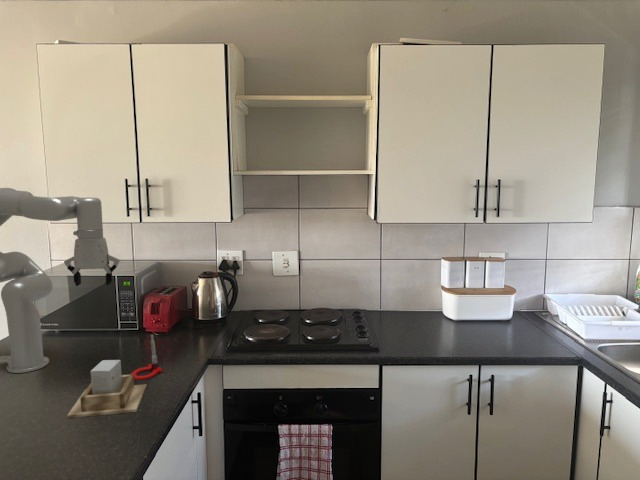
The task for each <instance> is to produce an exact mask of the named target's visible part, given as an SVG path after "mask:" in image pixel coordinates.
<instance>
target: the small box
mask: <svg viewBox="0 0 640 480" xmlns="http://www.w3.org/2000/svg"><path fill="white" fill-rule="evenodd" d="M122 375H123V374H122V361H121V359H104V360H101V361H100V362H98V364H97V365H95V367H93V368H92V369H91V370H90V383H91V384H92V395H97V394H109V393H120V392H121V390H122Z"/></svg>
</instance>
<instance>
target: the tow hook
mask: <svg viewBox="0 0 640 480" xmlns="http://www.w3.org/2000/svg"><path fill="white" fill-rule="evenodd" d="M150 346H151V348H150V349H151V363H150V364H148V365H147V366H143V367H139V368H137V369H134V370H133V371H132V372H131V373H130V374H134V381H135V380H136V381H142V380H143V381H144V380H148V379H151V378H153V377H155V376H156V375H157V374H159V373H163V371H164V369H163V368H162V367H160V364H159V362H158V355H157V354H156V353H157V352H156V345H155V340H154V334H150ZM145 371H152V372H151V373H149V374H146V375H138V374H139V373H141V372H145Z"/></svg>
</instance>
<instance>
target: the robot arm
mask: <svg viewBox="0 0 640 480" xmlns="http://www.w3.org/2000/svg"><path fill="white" fill-rule="evenodd" d="M102 209H103V207H102V199H100V198H99V197H80V196H79V197H78V196H73V195H72V196H58V197H57V196H55V197H46V196H36V195H33V194H32V193H31V192H29V191H26V190H16V189H15V188H12V187H0V227H1V226H2V225H3V224H4V223H6V222H7V221H8V220H9V219H10V218H12V217H24V218H26V219H32V220H39V221H48V222H49V221H50V222H51V221H52V222H58V221H64V220H72V219H76V224H77V225H76V226H77V229H76V230H75V231H73V233H72V234H73V236H77V238H75V240H74V248H73V250H74V251H73V256H71V257H69V258H67V259H65V260H64V265H65V267H67V270H68V271H69V272H71V273H72V275H73V281H74V282H73V283H74V284H75V287H78V286H80V285H81V284H82V276H81V274H82V273H81V272H80V271H81V270H101V269H103V270H104V271H105V272H106V273H105V284H106V286H110V285H111V284H112V282H113V272H114V271H115V269H117V267H118V266H119V264H120V262H121V261H120V259H119V258H117V257H115V256H112V255H110V254H109V248H108V243H107V239H106V238H105V237H104V229H103V228H104V227H103V210H102ZM110 261H111V262H113V264H112V266H110ZM72 262H73V265H72ZM4 282H7V283H5V284H4V285H3V287H2V288H1V291H0V298H1V301H2V304H3V307H4V311H5V316H6V322H7V323H6V324H7V331H8V333H7V334H8V342H9V349H10V354H9V355H0V364H7V365H6V371H7V372H9V373H12V374H23V373H24V374H25V373H29V372H33V371H38V370H40V369H42V368H44V367H46V366H47V365H48V364H49V363H50V359H49V357H48V356H44V348H43V337H42V327H41V318H40V312H39V310H38V309H37V306H36V305H35V302H36V301H39V300H41V299H43V298H45V297H47V296H49V295H50V294H51V293H52V290H53V281H52V280H51V277H49V275H48V274H47V273H45V271H44V270H43V269H42V268H41V267H39V266H38V264H37V263H36V262H34V260H33V259H32V258H31V257H30V256H28V255H27V254H25V253H23V252H20V251H10V252H5V253H4V252H1V251H0V283H4Z"/></svg>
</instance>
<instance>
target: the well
mask: <svg viewBox="0 0 640 480" xmlns="http://www.w3.org/2000/svg"><path fill="white" fill-rule="evenodd" d="M146 389H147V384H146V383H145V384H143V383H142V384H135V380H134V374H131V373H130V374H122V390H121V392H120V393H109V394H97V395H92V384H91V382H90V383H89V385H88V386H87V388H86V389H85V390H84V391H83V392H82V394H81V395H80V396H79V398H78V399H77V401H76V402H75V403H74V405H73V406H72V408H71V409H70V411H69V412H68V414H67V415H66V417H67V419H74V418H75V419H76V418H84V417H95V416H104V415H107V416H108V415H117V414H127V413H128V414H129V413H136V412H137V411H138V408H139V406H140V403H141V401H142V399H143V397H144V393H145V392H146Z"/></svg>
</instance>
